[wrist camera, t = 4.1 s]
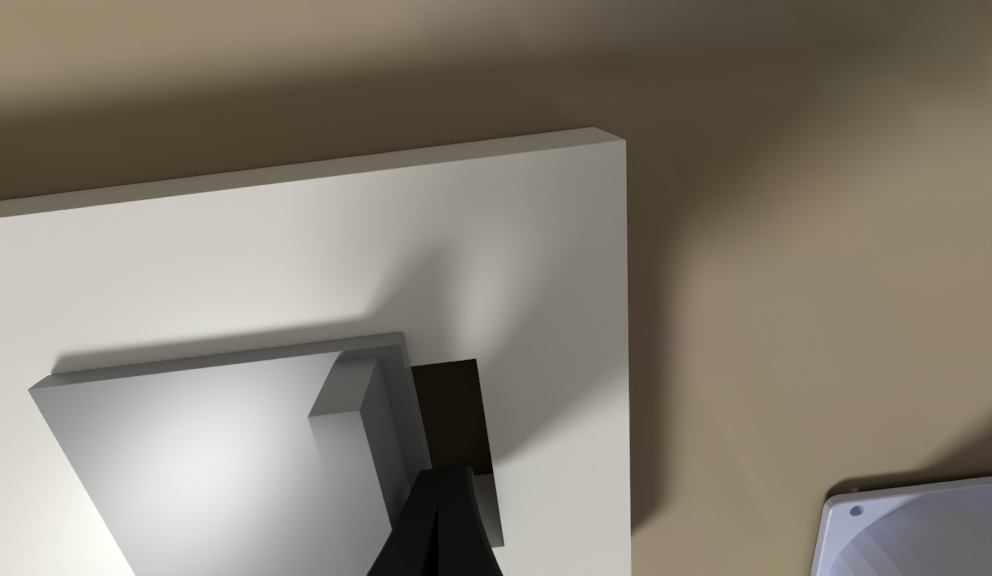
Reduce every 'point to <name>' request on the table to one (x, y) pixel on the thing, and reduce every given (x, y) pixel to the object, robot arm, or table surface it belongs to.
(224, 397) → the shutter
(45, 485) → the socket board
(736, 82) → the table surface
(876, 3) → the table surface
